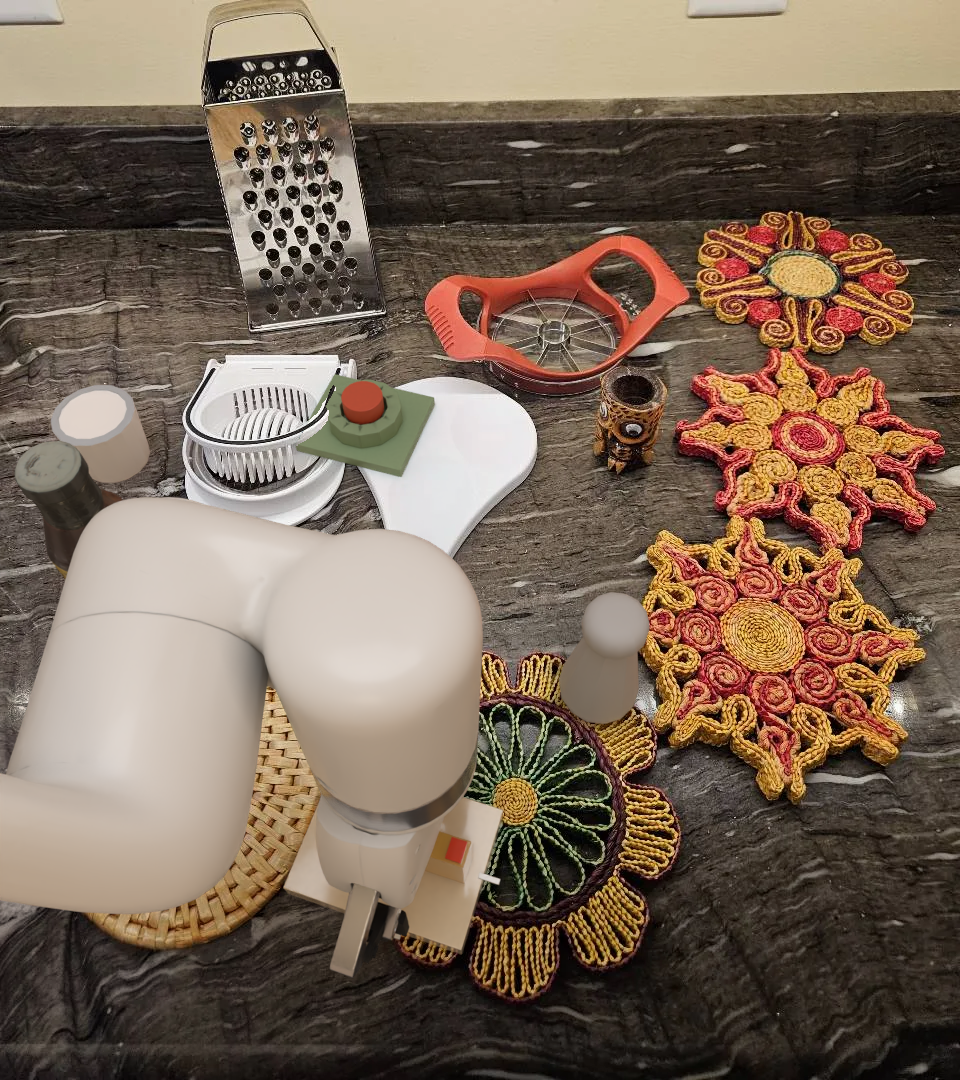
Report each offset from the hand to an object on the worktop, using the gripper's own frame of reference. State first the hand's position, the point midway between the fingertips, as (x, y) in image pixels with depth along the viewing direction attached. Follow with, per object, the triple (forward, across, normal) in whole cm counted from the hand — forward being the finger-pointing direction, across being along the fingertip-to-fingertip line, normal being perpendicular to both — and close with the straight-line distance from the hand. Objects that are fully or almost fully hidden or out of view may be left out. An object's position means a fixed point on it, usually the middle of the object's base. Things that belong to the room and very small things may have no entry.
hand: (411, 841), depth 52 cm
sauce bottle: (+8, -12, -27) cm, 31 cm away
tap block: (+7, 0, -1) cm, 7 cm away
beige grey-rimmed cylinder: (+8, -25, -37) cm, 45 cm away
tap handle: (+4, 0, +1) cm, 4 cm away
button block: (+7, -35, -17) cm, 39 cm away
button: (+4, -35, -17) cm, 39 cm away
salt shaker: (+7, -16, +9) cm, 19 cm away
